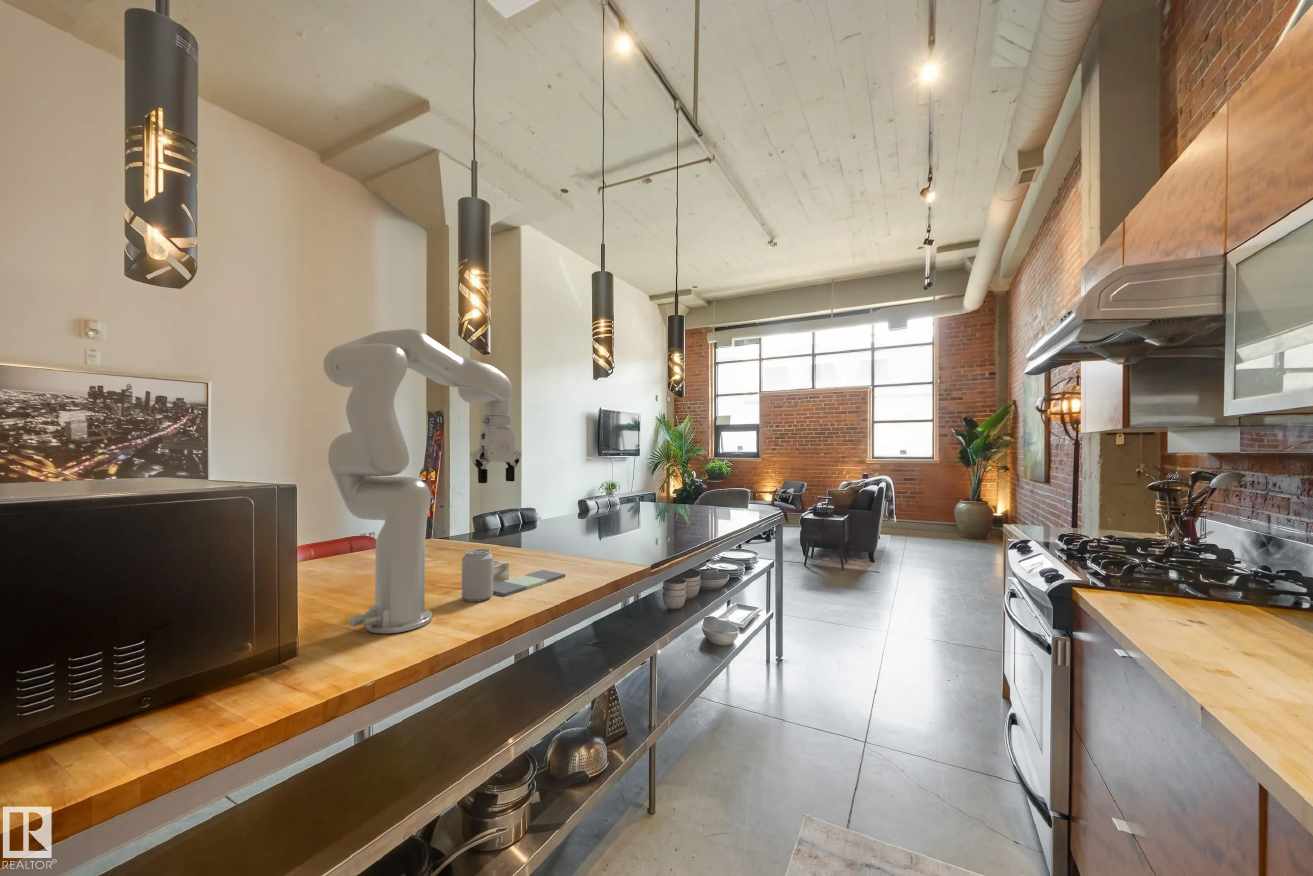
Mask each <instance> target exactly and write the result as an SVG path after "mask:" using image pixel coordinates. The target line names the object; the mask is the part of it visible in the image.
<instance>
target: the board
mask: <svg viewBox="0 0 1313 876" xmlns="http://www.w3.org/2000/svg"><path fill="white" fill-rule="evenodd" d="M564 576H565V577H566V573H562V572H556V571H551V570H545V569H541V570H540V569H539V570H537V571H533V572H530V573H527V574H523V575H520V576H515V577H513V578H509V580H505V581H502V582H498V583H495V584H493V594H492V595H496V596H502V597H507V596H510V595H513V594H516V593H519V592H523V591H526V590H529V589H532V588H535V587H538V586H540V584H541V585H544V584H547V583H546V582H548V583H550V582H549V581H551V582H553V581H552V580H554V581H557V580H560V579H562V577H563V578H565V577H564ZM559 578H560V579H559ZM556 579H557V580H556ZM543 583H544V584H543ZM537 585H538V586H537ZM534 586H535V587H534ZM531 587H532V588H531ZM528 588H529V589H528Z"/></svg>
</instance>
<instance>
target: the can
mask: <svg viewBox="0 0 1313 876" xmlns="http://www.w3.org/2000/svg"><path fill="white" fill-rule="evenodd" d="M491 551H492V550H491V549H487V548H475V549H469V550H467V551H465V552H464V556H463V557H462V558H461V598H463V599H464V600H465V602H469V603H470V602H471V603H472V602H473V603H475V602H483V601H486V600H488V599H490V597H492V595H494V594H493V562H494V555H493V554H492V553H491Z"/></svg>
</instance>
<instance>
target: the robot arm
mask: <svg viewBox="0 0 1313 876" xmlns="http://www.w3.org/2000/svg"><path fill="white" fill-rule="evenodd" d="M322 365H323V371H324V373H325V375H326V377H327V378H328V379H329V380H330V382H332V383H333V384H335V385H338V386H340V387H345V388H351V391H350V392H349V395H348V398H347V401H346V406H345V414H346V418H347V422H348V425H349V428H350V431H347V432H344V433H341V434H339V435H338V436H336V437H335V438H334V439H333V440H332V442H331V443H330V446H329V449H328V453H327V454H328V455H327V459H328V460H327V461H328V465H329V469H330V472H331V474H332V477H333V478H334V482H335V483H336V484H335V485H336V486H337V489H338V492H339V493H340V495H341V497H342V500H343V502H344V505H345V506H346V508H347V509H348V511H349V512H350V513H351V514H352V515H353V516H354V517H356V518H358V519H361V520H369V521H384V524H382V527H381V529H380V531H379V532H378V535H377V538H376V542H375V570H374V571H375V573H374V574H375V579H374V580H375V581H374V582H375V583H374V586H375V587H374V605H373V604H372V605H369V610H367V611H366V612H365V613H362V614H358V615H353V616H350V618H349V619H348V620H349V626H350V627H351V628H353V627H356V626H359V625H363V626H364V627H366V629H365V630H367V631H368V632H370V633H374V634H383V635H384V634H387V635H388V634H397V633H402V632H408V631H412V630H416V629H418V628H421V627H424V626H426V625H427V624H429V623H430V622H431V621H432V620H433V612H432V611H430V610H428V609H426V608H425V606H426V605H425V598H426V597H425V593H426V590H425V589H426V582H425V581H426V578H425V577H426V532H427V522H428V521H427V520H428V515H429V512H430V508H431V502H432V501H431V500H432V499H431V498H432V495H431V490H430V487H429V486H428V485H427V484H426V483H425V482H424V481H422V480H420V479H418V478H415V477H411V476H396V475H399V474H402V473H403V472H404V471H405V470H406V469H407V468H408V467H409V464H410V456H409V450H408V447H407V443H406V441H405V438H404V435H403V432H402V428H401V425H400V424H399V421H398V417H397V413H396V409H395V398H396V394H397V391H398V388H399V386H400V384H401V383H402V381H403V380H404V377H405V376H406V374H407V370H408V369H411V370H412V371H415V372H416V373H418V374H420V375H422V376H424V377H426V378H428V379H430V380H431V381H432V382H434V383H437V384H439V385H441V386H447V387H451V388H457V391H458V392H457V393H458V395H459V397H460V399H462V400H463V401H465V402H466V403H469V404H476V405H477V404H483V417H482V418H480V422H481V423H482V424H483V425H482V426H483V427H481V431H480V436H479V442H478V443H479V444H478V448H477V449H475V450H474V451H473V450H472V452H470V454H469V457H470V458H471V460H472V463H473V465H474V466H475V468H476V469H477V482H478V483H479V484H487V483H488V468H487V467H488V465H489V464H490V462H491V463H504V464H505V465H506V467H505V481H506V482H515V479H516V478H515V477H516V476H515V473H516V472H515V469H516V468H517V465H518V464H519V463H520V459H521V457H522V452H520V451H519V450H517V448H516V447H517V446H516V438H515V431H514V427H513V428H512V427H511V426H512V425H511V424H512V423H511V421H512V415H511V414H512V410H511V409H512V394H513V385H512V382H511V381H510V379H509V378H508V376H507V375H506V374H505V373H503V372H502V371H500V370H499V369H497V368H496V367H495V366H492V365H490V364H488V363H485V362H482V361H479V360H475V359H474V358H469V357H466V356H463V355H460V354H457V353H455V352H453V351H452V350H450V349H449V348H448V347H446V346H444V345H443V344H441V343H440V342H438V341H437V340H435V339H434V338H432V337H431V336H429V335H428V334H426V333H425V332H423V331H420V330H418V329H415V328H414V329H413V328H404V329H393V330H381V331H378V332H374V333H372V334H368V335H366V336H363V337H359V338H357V339H355V340H352V341H349V342H346V343H343V344H340V345H337V346H335V347H333V348H332V349H330V350H329V351H328V352H327V353H326V355H325V356H324V360H323V364H322Z"/></svg>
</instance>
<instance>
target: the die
mask: <svg viewBox="0 0 1313 876" xmlns="http://www.w3.org/2000/svg"><path fill="white" fill-rule="evenodd" d="M509 579H510V562H507V561H501V560H495V561H494V560H493V584H495V583H498V582H502V581H505V580H509Z"/></svg>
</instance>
